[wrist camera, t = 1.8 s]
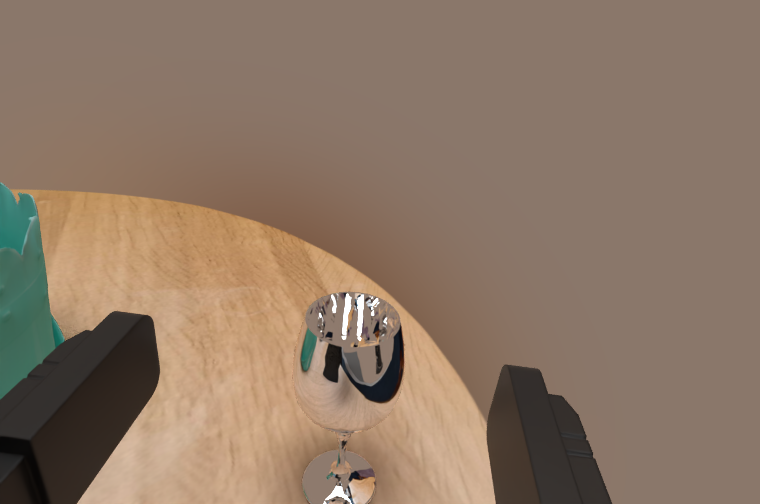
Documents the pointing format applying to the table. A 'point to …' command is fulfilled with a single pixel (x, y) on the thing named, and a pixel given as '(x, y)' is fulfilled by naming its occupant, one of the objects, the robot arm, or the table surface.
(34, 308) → the basket
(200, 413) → the table surface
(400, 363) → the wineglass
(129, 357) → the robot arm
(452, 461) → the table surface
